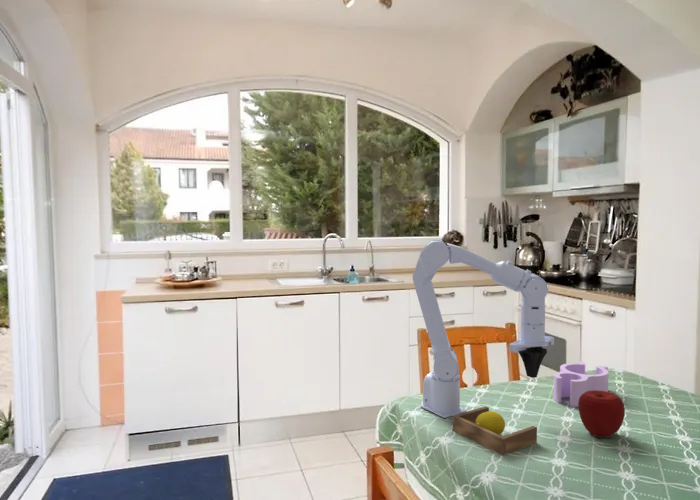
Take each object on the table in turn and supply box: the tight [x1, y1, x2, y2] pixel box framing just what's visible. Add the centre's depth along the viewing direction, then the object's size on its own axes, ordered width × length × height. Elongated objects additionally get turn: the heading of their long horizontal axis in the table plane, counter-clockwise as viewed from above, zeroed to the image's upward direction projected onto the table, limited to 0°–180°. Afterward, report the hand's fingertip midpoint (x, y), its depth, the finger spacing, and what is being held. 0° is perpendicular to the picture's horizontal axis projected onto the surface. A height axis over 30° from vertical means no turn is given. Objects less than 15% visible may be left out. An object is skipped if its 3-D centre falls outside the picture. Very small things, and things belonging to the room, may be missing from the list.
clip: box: [553, 361, 610, 408], centre depth 142 cm, size 20×12×7 cm, turn 134°
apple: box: [578, 390, 626, 438], centre depth 117 cm, size 10×10×10 cm
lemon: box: [475, 410, 506, 436], centre depth 116 cm, size 6×6×8 cm
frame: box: [452, 405, 538, 456], centre depth 116 cm, size 15×11×4 cm
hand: (531, 376), depth 128 cm, fingers closed
